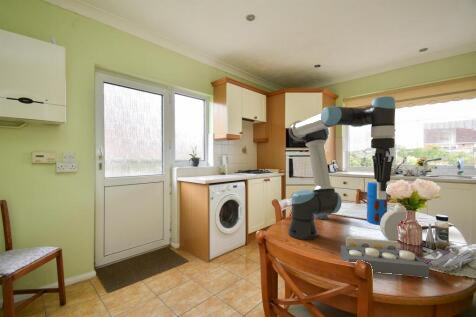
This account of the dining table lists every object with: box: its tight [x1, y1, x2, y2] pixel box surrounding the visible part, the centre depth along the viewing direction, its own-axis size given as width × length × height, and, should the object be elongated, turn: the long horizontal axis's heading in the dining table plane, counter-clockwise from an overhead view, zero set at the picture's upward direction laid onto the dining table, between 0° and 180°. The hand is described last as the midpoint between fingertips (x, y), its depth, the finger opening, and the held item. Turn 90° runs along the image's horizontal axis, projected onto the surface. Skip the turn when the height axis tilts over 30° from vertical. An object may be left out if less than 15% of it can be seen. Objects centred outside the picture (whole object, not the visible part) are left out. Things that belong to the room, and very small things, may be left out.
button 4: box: [399, 249, 415, 261], centre depth 83 cm, size 5×5×3 cm
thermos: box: [366, 181, 388, 226], centre depth 138 cm, size 11×11×25 cm
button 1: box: [349, 250, 362, 256], centre depth 87 cm, size 5×5×3 cm
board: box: [340, 245, 430, 278], centre depth 85 cm, size 26×12×4 cm, turn 78°
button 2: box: [365, 248, 379, 257], centre depth 86 cm, size 5×5×3 cm
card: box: [345, 236, 399, 250], centre depth 94 cm, size 20×1×7 cm, turn 78°
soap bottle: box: [379, 202, 419, 241], centre depth 112 cm, size 16×5×20 cm, turn 80°
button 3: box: [382, 253, 396, 259], centre depth 84 cm, size 5×5×3 cm
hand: (381, 198), depth 84 cm, fingers closed
